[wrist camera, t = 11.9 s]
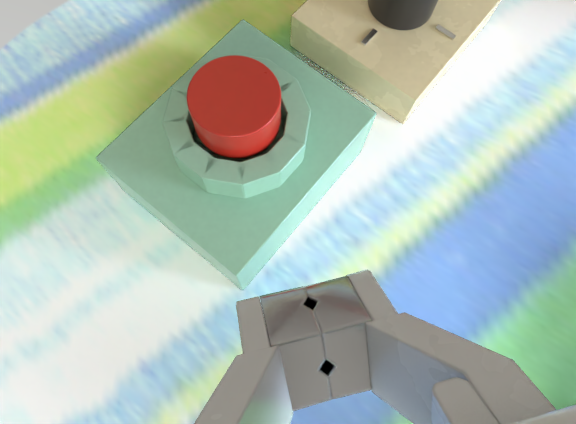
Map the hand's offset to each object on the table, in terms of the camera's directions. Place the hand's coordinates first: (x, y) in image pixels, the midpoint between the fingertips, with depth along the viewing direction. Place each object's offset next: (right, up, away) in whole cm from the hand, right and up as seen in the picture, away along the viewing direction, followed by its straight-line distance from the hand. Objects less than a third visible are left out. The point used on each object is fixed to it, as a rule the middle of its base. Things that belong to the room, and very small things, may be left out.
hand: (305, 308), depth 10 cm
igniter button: (-3, +7, +13) cm, 15 cm away
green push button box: (-3, +5, +19) cm, 20 cm away
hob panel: (+7, +15, +23) cm, 28 cm away
